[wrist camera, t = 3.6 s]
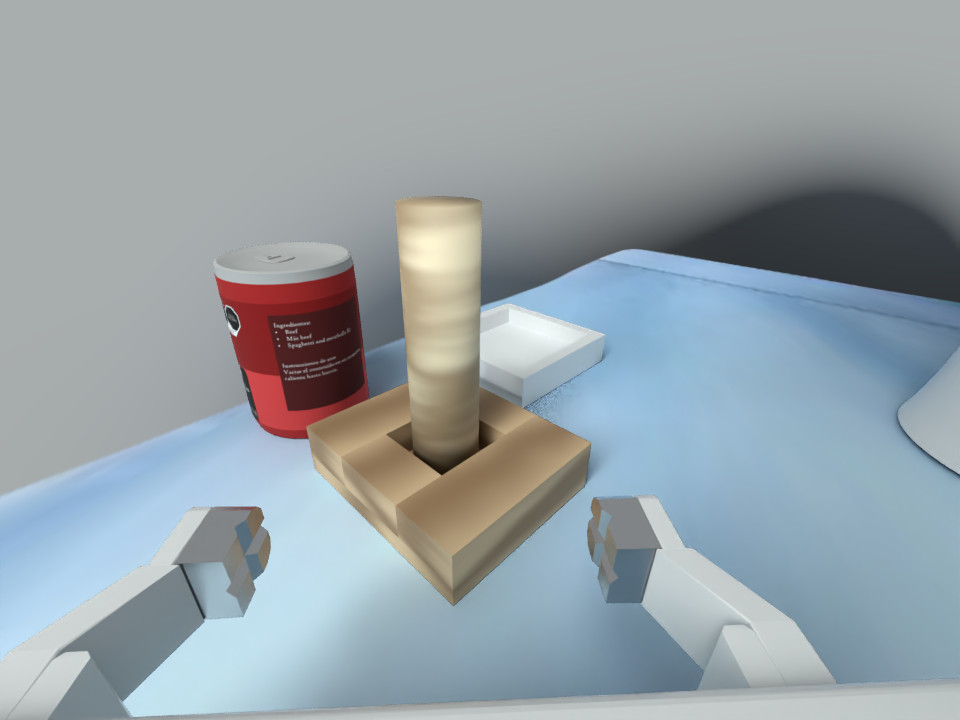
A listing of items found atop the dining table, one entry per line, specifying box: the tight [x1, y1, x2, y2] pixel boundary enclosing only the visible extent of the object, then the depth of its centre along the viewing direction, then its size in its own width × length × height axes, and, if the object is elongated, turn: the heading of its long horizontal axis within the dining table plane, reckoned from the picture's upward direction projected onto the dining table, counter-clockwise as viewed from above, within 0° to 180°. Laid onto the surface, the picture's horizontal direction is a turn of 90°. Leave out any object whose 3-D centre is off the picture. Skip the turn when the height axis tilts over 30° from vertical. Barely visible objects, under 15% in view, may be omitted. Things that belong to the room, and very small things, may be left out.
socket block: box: [306, 382, 591, 606], centre depth 24 cm, size 12×10×5 cm
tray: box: [479, 303, 605, 408], centre depth 38 cm, size 11×11×2 cm
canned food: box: [213, 242, 369, 439], centre depth 29 cm, size 8×8×11 cm
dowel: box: [395, 196, 482, 475], centre depth 22 cm, size 4×4×14 cm
